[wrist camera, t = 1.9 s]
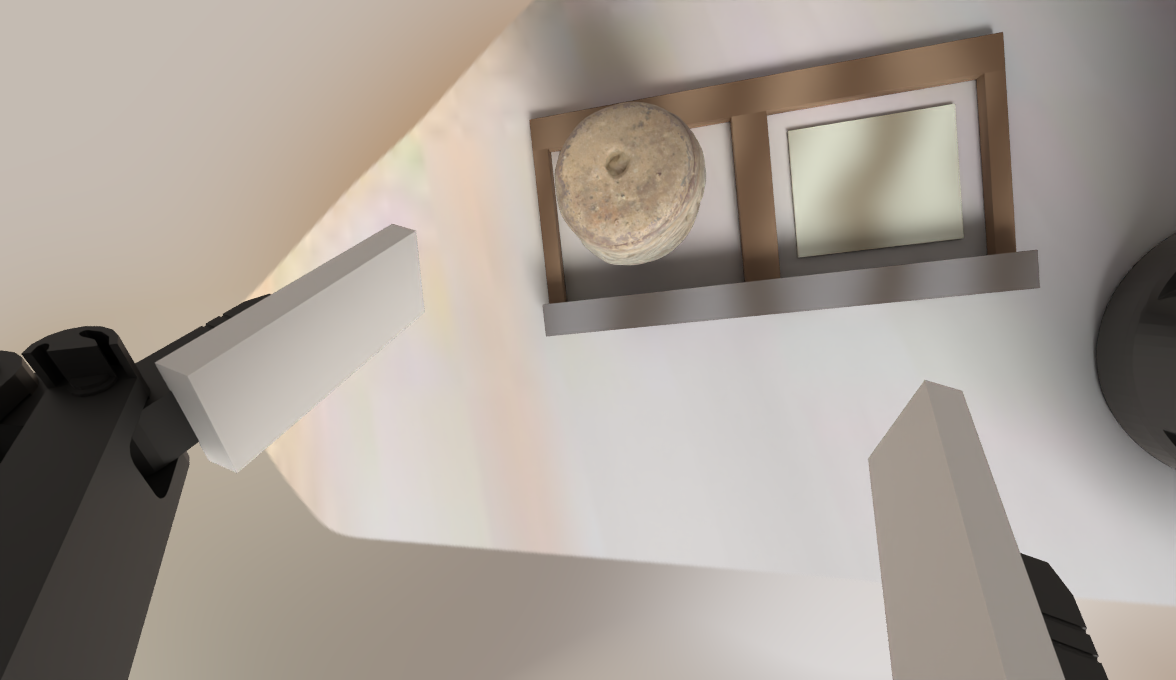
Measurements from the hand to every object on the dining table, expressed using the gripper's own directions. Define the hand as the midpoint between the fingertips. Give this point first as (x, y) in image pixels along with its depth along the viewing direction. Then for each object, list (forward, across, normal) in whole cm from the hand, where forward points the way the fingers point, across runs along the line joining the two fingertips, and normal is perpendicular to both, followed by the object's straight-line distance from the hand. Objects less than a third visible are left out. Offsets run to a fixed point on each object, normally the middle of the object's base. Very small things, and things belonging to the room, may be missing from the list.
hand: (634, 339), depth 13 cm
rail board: (+22, -2, +3) cm, 22 cm away
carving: (+20, +4, +5) cm, 21 cm away
